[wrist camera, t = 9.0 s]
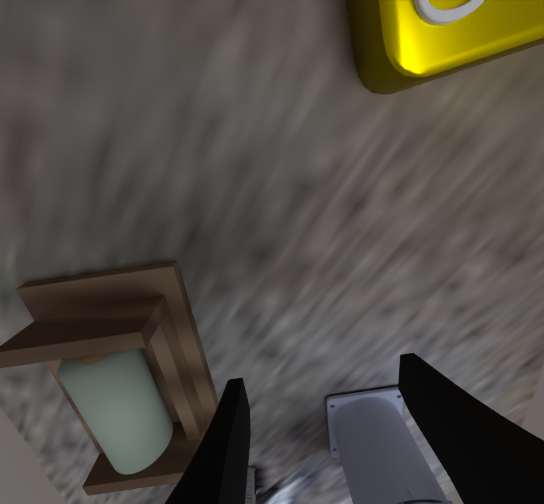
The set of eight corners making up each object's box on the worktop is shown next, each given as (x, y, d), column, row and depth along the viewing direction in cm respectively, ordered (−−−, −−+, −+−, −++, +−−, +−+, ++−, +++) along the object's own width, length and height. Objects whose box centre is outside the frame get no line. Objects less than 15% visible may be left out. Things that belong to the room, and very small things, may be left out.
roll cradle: (226, 429, 27) (219, 492, 22) (116, 445, 27) (83, 512, 22) (177, 261, 20) (149, 297, 15) (27, 282, 20) (-53, 326, 15)
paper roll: (180, 410, 24) (161, 470, 20) (130, 417, 24) (99, 479, 20) (146, 324, 21) (112, 373, 16) (87, 333, 21) (36, 384, 16)
